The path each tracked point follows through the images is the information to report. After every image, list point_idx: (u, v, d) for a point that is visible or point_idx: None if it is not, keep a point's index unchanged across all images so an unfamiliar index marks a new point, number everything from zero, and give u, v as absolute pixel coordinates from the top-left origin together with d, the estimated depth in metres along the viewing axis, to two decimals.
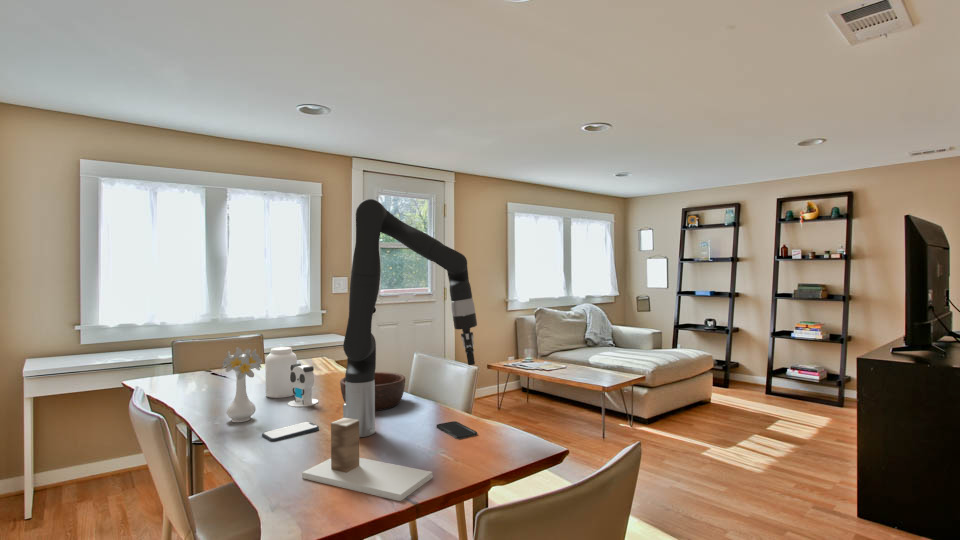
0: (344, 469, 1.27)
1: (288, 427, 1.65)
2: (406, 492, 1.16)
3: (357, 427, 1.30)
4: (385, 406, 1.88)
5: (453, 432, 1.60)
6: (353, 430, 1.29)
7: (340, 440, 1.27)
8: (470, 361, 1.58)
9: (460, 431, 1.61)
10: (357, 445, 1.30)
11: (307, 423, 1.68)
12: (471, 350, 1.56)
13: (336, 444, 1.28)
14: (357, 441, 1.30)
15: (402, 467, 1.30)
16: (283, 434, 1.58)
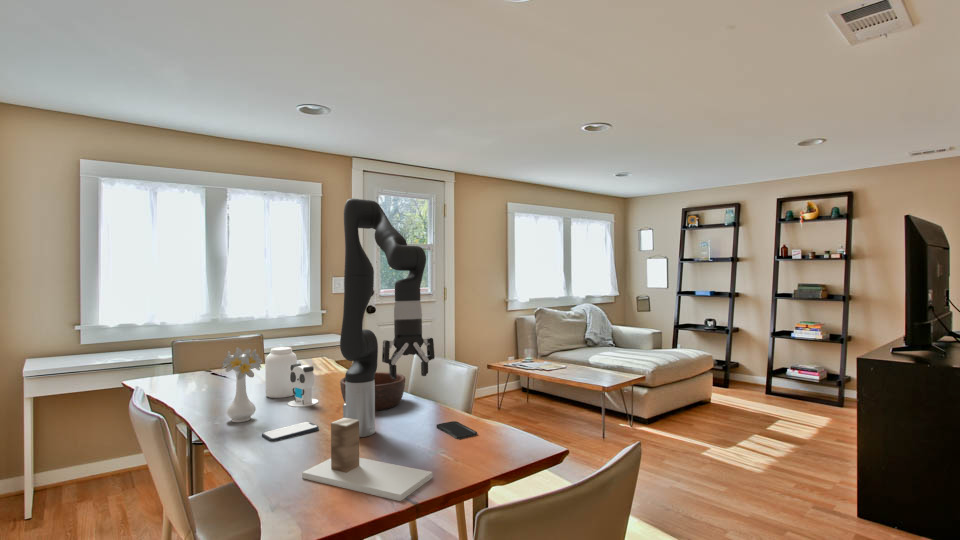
0: (344, 469, 1.27)
1: (288, 427, 1.65)
2: (406, 492, 1.16)
3: (357, 427, 1.30)
4: (385, 406, 1.88)
5: (453, 432, 1.60)
6: (353, 430, 1.29)
7: (340, 440, 1.27)
8: (390, 374, 1.34)
9: (460, 431, 1.61)
10: (357, 445, 1.30)
11: (307, 423, 1.68)
12: (384, 361, 1.33)
13: (336, 444, 1.28)
14: (357, 441, 1.30)
15: (402, 467, 1.30)
16: (283, 434, 1.58)
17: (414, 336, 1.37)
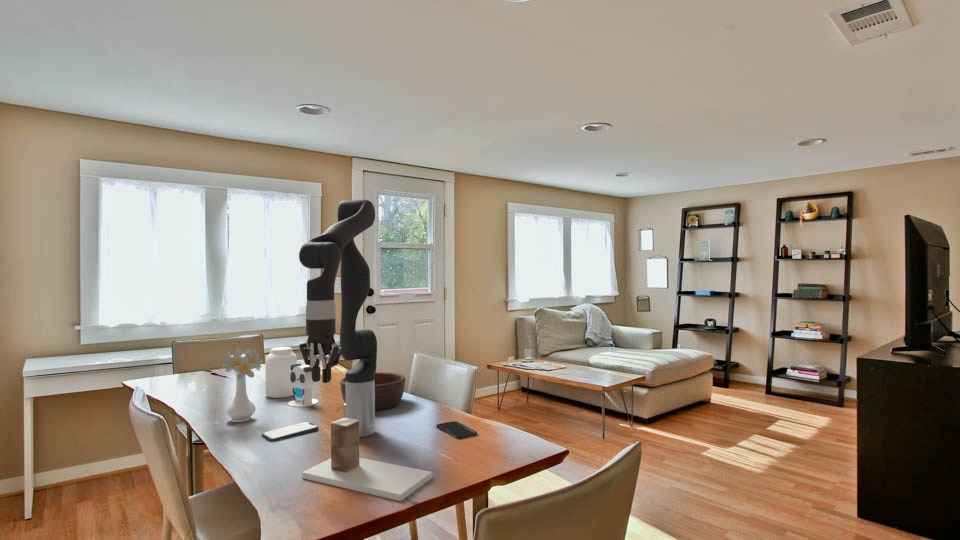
0: (344, 469, 1.27)
1: (288, 427, 1.65)
2: (406, 492, 1.16)
3: (357, 427, 1.30)
4: (385, 406, 1.88)
5: (453, 432, 1.60)
6: (353, 430, 1.29)
7: (340, 440, 1.27)
8: None
9: (460, 431, 1.61)
10: (357, 445, 1.30)
11: (307, 423, 1.68)
12: None
13: (336, 444, 1.28)
14: (357, 441, 1.30)
15: (402, 467, 1.30)
16: (283, 434, 1.58)
17: (321, 336, 1.32)
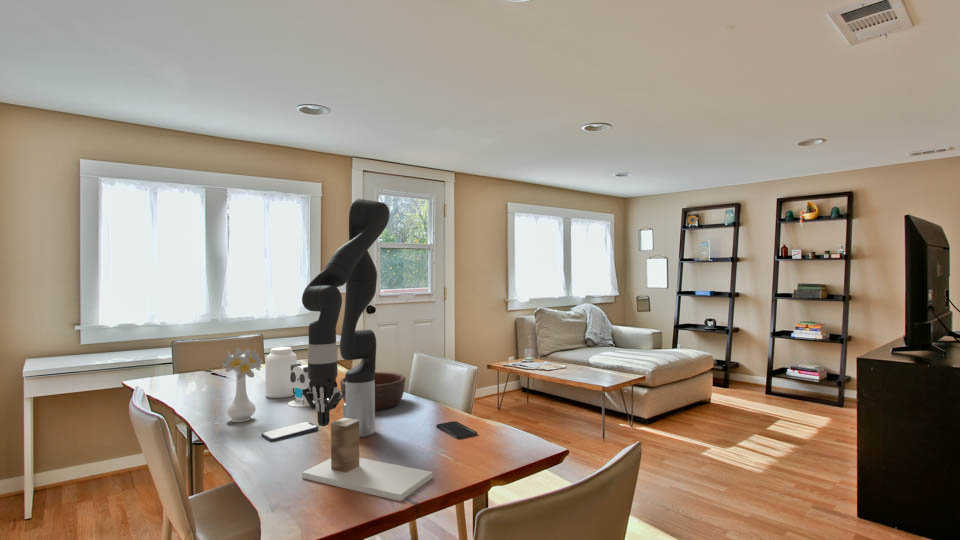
0: (344, 469, 1.27)
1: (287, 427, 1.65)
2: (406, 492, 1.16)
3: (357, 427, 1.30)
4: (385, 406, 1.88)
5: (453, 432, 1.60)
6: (353, 430, 1.29)
7: (340, 440, 1.27)
8: None
9: (460, 431, 1.61)
10: (357, 445, 1.30)
11: (306, 423, 1.68)
12: None
13: (336, 444, 1.28)
14: (357, 441, 1.30)
15: (402, 467, 1.30)
16: (282, 434, 1.58)
17: (323, 380, 1.32)
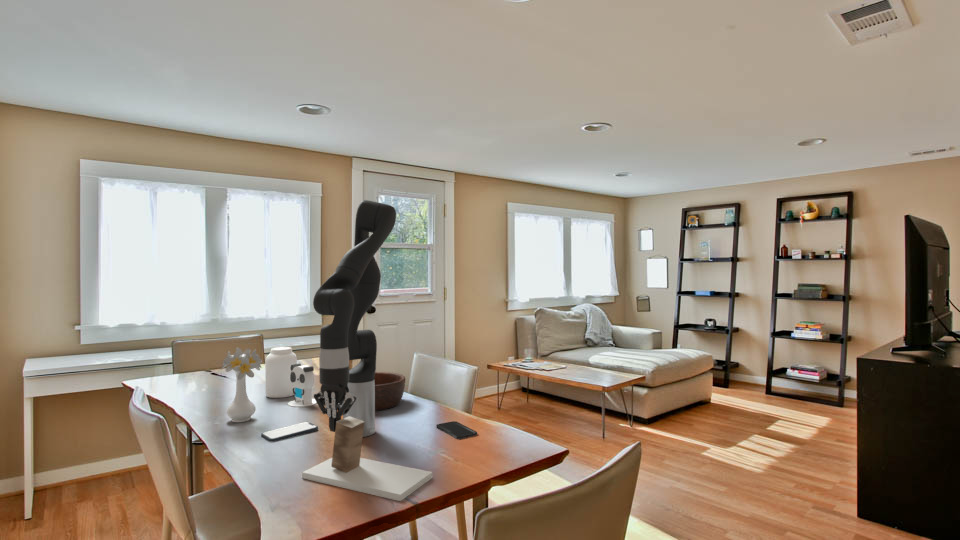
0: (344, 468, 1.27)
1: (287, 427, 1.65)
2: (406, 492, 1.16)
3: (362, 429, 1.30)
4: (385, 406, 1.88)
5: (453, 432, 1.60)
6: (357, 431, 1.28)
7: (344, 440, 1.27)
8: None
9: (460, 431, 1.61)
10: (359, 446, 1.30)
11: (306, 423, 1.68)
12: None
13: (339, 443, 1.27)
14: (360, 442, 1.30)
15: (402, 467, 1.30)
16: (282, 434, 1.58)
17: (334, 385, 1.29)
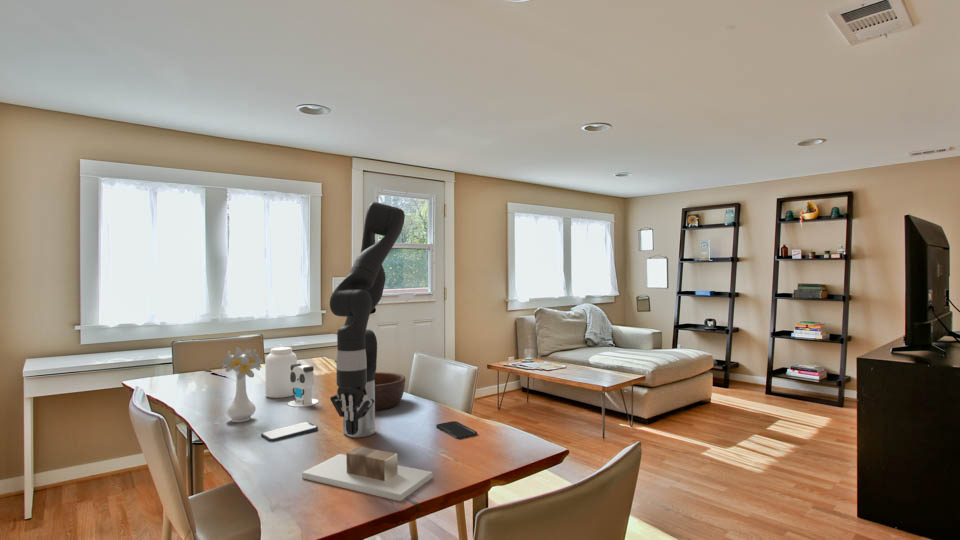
0: (349, 470, 1.26)
1: (287, 427, 1.65)
2: (406, 492, 1.16)
3: None
4: (385, 406, 1.88)
5: (453, 432, 1.60)
6: None
7: (372, 471, 1.23)
8: None
9: (460, 431, 1.61)
10: None
11: (306, 423, 1.68)
12: None
13: (367, 464, 1.24)
14: None
15: (402, 467, 1.30)
16: (282, 434, 1.58)
17: (352, 387, 1.27)
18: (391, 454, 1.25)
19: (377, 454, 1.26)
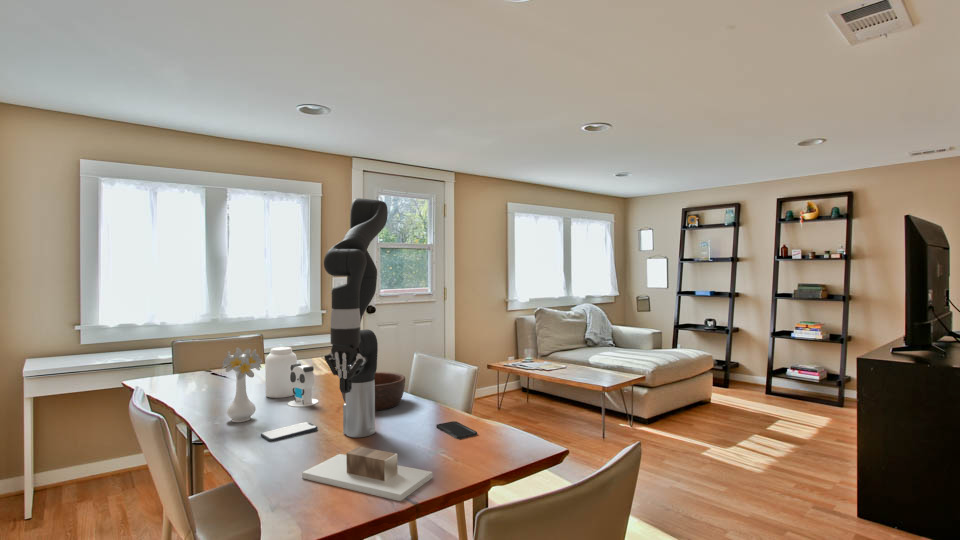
0: (349, 470, 1.26)
1: (287, 427, 1.65)
2: (406, 492, 1.16)
3: None
4: (385, 406, 1.88)
5: (453, 432, 1.60)
6: None
7: (372, 471, 1.23)
8: None
9: (461, 431, 1.61)
10: None
11: (306, 423, 1.68)
12: None
13: (367, 464, 1.24)
14: None
15: (402, 467, 1.30)
16: (281, 434, 1.58)
17: (346, 346, 1.28)
18: (391, 454, 1.25)
19: (377, 454, 1.26)
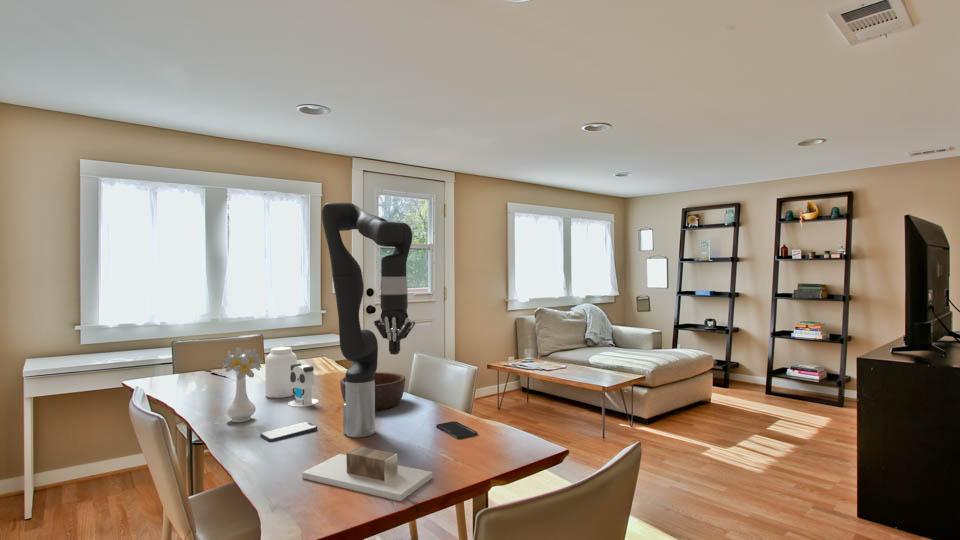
0: (349, 470, 1.26)
1: (287, 427, 1.64)
2: (406, 492, 1.16)
3: None
4: (385, 406, 1.88)
5: (453, 432, 1.60)
6: None
7: (372, 471, 1.23)
8: None
9: (461, 431, 1.61)
10: None
11: (306, 423, 1.68)
12: None
13: (367, 464, 1.24)
14: None
15: (402, 467, 1.30)
16: (281, 434, 1.58)
17: (395, 311, 1.40)
18: (391, 454, 1.25)
19: (377, 454, 1.26)
